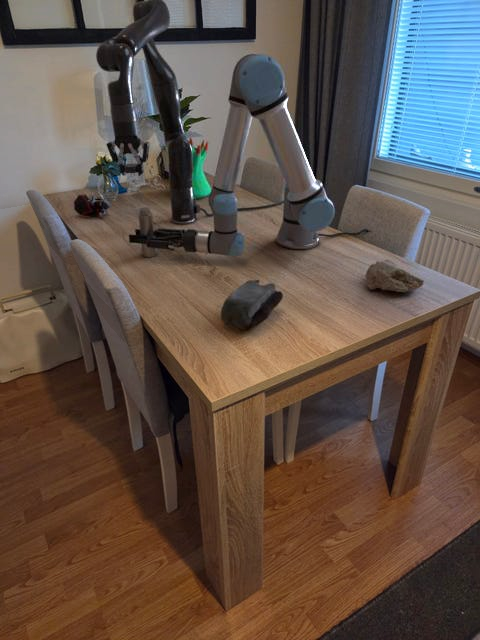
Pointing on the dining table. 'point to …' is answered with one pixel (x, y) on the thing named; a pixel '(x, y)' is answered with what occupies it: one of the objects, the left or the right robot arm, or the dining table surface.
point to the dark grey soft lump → (250, 304)
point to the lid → (130, 168)
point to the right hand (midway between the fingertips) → (132, 235)
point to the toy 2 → (199, 171)
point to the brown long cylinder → (146, 229)
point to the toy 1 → (90, 206)
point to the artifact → (391, 277)
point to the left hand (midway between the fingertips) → (132, 174)
